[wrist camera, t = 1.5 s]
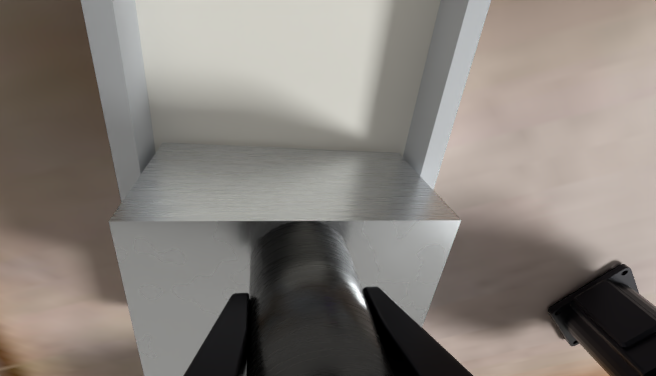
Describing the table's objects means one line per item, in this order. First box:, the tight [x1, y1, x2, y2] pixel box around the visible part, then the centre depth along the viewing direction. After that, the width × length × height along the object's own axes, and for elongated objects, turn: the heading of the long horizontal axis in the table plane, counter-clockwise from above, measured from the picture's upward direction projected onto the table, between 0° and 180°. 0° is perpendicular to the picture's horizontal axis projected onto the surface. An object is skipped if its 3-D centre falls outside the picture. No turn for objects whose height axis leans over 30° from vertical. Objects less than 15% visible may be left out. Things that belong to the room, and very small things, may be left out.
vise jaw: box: [109, 143, 461, 376], centre depth 12 cm, size 8×10×10 cm
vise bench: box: [81, 0, 491, 203], centre depth 16 cm, size 33×13×8 cm, turn 173°
